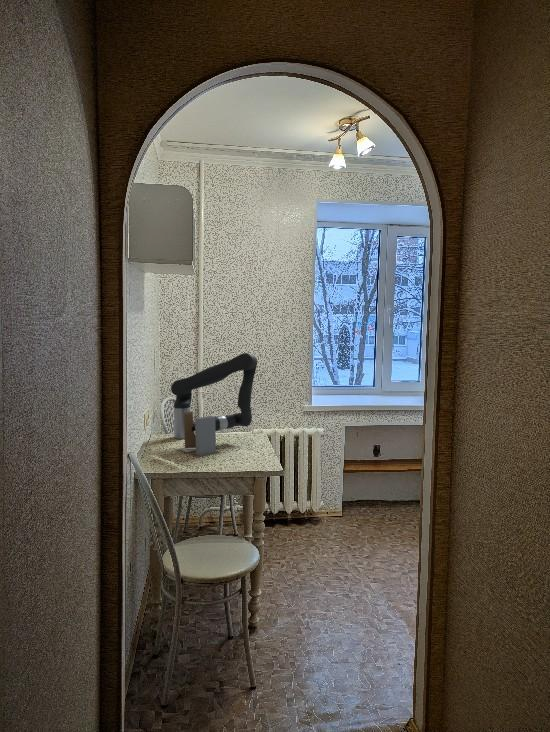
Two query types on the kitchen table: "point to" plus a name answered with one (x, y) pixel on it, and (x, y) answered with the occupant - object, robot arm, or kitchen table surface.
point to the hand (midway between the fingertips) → (188, 428)
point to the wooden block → (189, 430)
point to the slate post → (205, 435)
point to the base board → (194, 452)
